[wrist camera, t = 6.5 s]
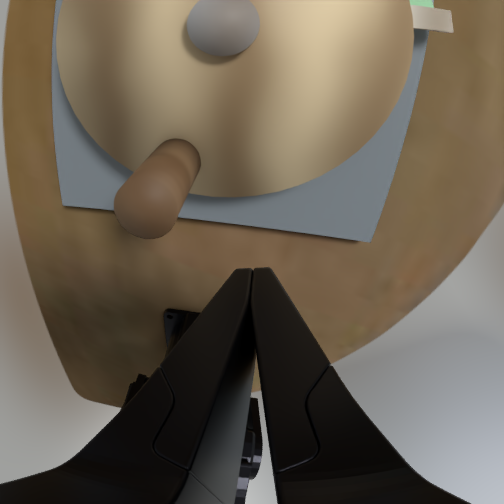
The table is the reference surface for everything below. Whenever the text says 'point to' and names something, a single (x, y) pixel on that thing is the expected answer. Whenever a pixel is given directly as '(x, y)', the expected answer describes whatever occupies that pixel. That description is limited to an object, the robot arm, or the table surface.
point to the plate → (261, 206)
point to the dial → (231, 91)
